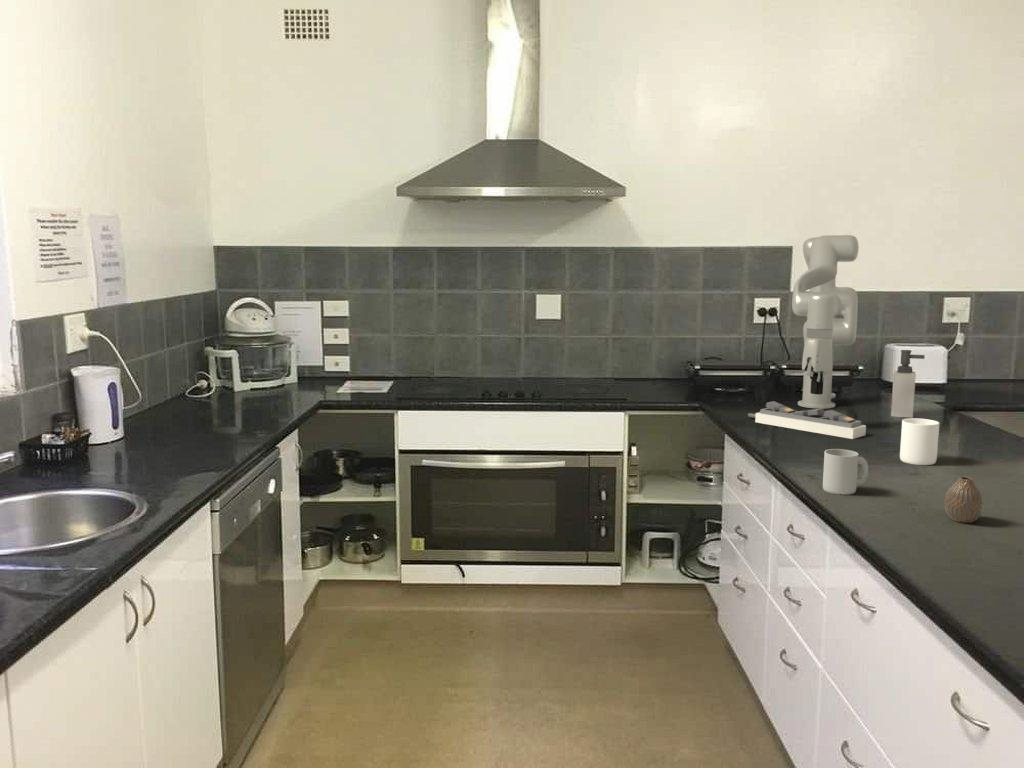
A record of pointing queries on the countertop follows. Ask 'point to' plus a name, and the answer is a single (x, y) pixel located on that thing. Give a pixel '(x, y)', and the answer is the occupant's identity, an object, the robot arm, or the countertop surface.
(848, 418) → the rocker
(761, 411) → the power strip
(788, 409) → the rocker
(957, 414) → the countertop surface
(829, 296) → the robot arm
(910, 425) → the mug
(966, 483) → the vase
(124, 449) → the countertop surface
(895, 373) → the soap dispenser
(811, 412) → the rocker
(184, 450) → the countertop surface
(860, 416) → the countertop surface
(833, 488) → the cup
